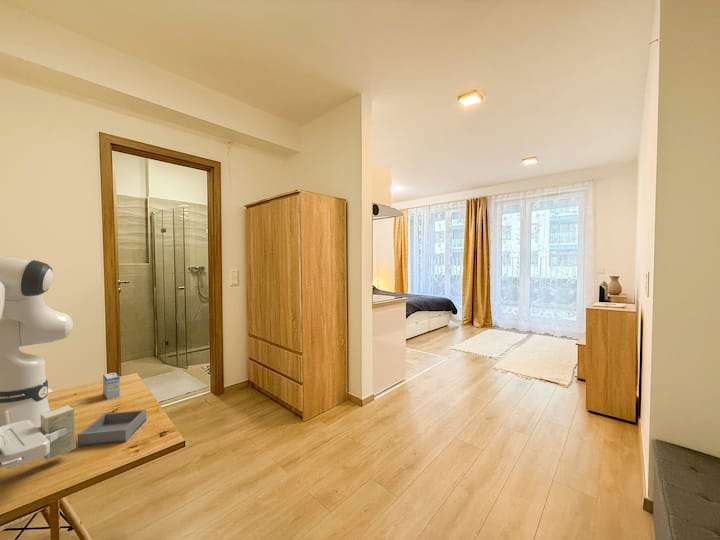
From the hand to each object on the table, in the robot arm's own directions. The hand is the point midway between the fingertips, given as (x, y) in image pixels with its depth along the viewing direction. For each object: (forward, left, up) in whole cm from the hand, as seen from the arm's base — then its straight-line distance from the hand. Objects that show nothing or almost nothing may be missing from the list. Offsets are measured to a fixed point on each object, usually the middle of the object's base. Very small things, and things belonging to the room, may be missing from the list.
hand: (62, 427), depth 85 cm
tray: (+7, +12, -9) cm, 17 cm away
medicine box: (-11, +44, -10) cm, 47 cm away
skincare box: (-1, -1, -7) cm, 7 cm away
